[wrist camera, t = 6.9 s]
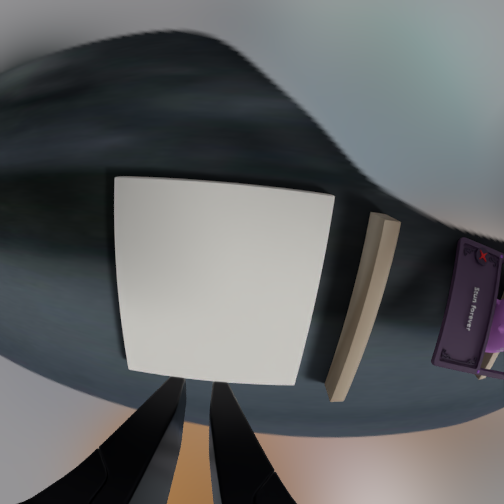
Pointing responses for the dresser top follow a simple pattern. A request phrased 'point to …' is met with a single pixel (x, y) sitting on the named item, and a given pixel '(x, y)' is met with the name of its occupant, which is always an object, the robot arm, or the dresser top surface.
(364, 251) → the rails
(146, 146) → the dresser top surface
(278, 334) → the pad
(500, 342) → the game card
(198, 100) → the dresser top surface
